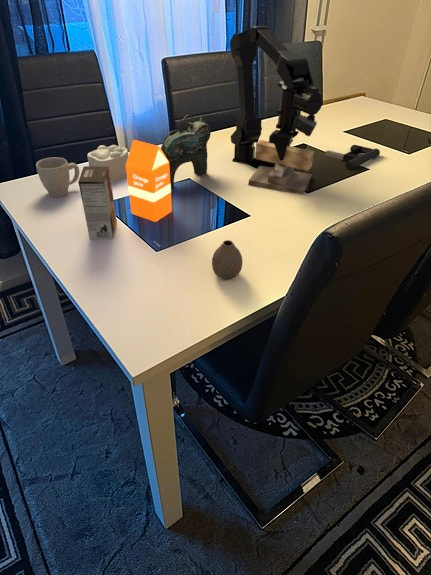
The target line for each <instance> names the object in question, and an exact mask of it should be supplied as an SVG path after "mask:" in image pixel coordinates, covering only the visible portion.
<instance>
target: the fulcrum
mask: <svg viewBox="0 0 431 575" xmlns="http://www.w3.org/2000/svg"><path fill="white" fill-rule="evenodd" d="M312 177H313V174H312V173H309V172H308V173H307V172H300V171H296V170H295V168H293V167H289V166H284V165H280V164H276V163H275V164H274V166H273V167H272V166H271V167H270V166H265V165H264V166H263V165H259V166H258V167H257V169H256V170H255V171H254V173H253V174H252V175H251V177H249V179H248V183H247V184H248V185H250V186H254V187H261V188H265V189H271V190H275V191H281V192H282V191H283V192H287V193H293V194H298V195H304V194H305V192H306V190H307V189H308V186H309V185H310V182H311V180H312Z"/></svg>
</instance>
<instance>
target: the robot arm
mask: <svg viewBox="0 0 431 575" xmlns="http://www.w3.org/2000/svg"><path fill="white" fill-rule="evenodd" d="M229 48H230V54H231V58H232V59H233V61H234V63H235V65H236V68H237V80H238V82H237V84H238V97H239V98H238V100H239V101H238V102H239V116H238V119H237V120H236V124H235V125H236V126H235V130H234V132H233V133H232V134H231V135H230V142H231V144H232V145H233V144H234V154H233V155H234V157H233V158H232V162H236V163H244V164H251V162H252V161H253V160H255V153H256V146H255V144H256V143H257V142H259V141H260V137H261V135H262V131H263V128H262V122H263V120H262V119H261V117H259V116H258V115H257V114H256V110H255V109H256V107H255V106H256V104H255V87H254V86H255V84H254V82H255V81H254V66H253V65H254V62H255V60H256V58H257V55H258V48H260V50H261V51H262V52H264V54H265V55H266V56H267V57H268V58H269V59H270V60H271V61H272V62H273V63H274V64H275V66H276V68H275V69H276V72H277V74H278V76H279V77H280V79H281V80H280V81H279V82H277V84H276V85H277V87H278V88H281V91H280V92H281V93H280V100H279V101H280V102H279V108H278V110H277V115H278V118H277V119H278V120H277V124H276V125H275V130H273V131H272V132H271V134H270V135H269V137H268V142H269V143H273V144H274V145H275V148H276V150H277V153H278V156H279V159H280V160H282V161H283V160H284V156H285V153H286V150H287V147H288V146H291V145H292V144H293V141H294V138H295V137H296V136H298V134H300V133H303V134H304V135H305V136H307V137H310V136H311V135H312V133H313V132H314V130H315V128H316V127H317V124H318V123H317V121H316V115H317V114H318V113H319V112H320V110H321V108H322V106H323V103H324V101H323V97H322V95H321V94H320V93H319V92H320V88H319V87H316V86H315V87H314V85H315V84H314V81H313V77H312V74H311V70H310V66H309V62H308V59H307V58H305V57H304V56H303V55H301V54H299V53H296V52H293V51H291V50H289V49H288V48H287V47H286V46H285V45H284V44H283V43H282V42H281V41H280V40H279V39H278V38H277V37H276V36H275V35H274V34H273V33H272V32H271V31H270V29H269V27H268V26H266V25H255V26H253V27H250V28H249V29H247V30H245V31H242V32H239V33H238V32H237V33H234V34H233V35H232V37H231V38H230V40H229ZM302 112H303V113H304V114H307V116H306V115H302Z"/></svg>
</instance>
